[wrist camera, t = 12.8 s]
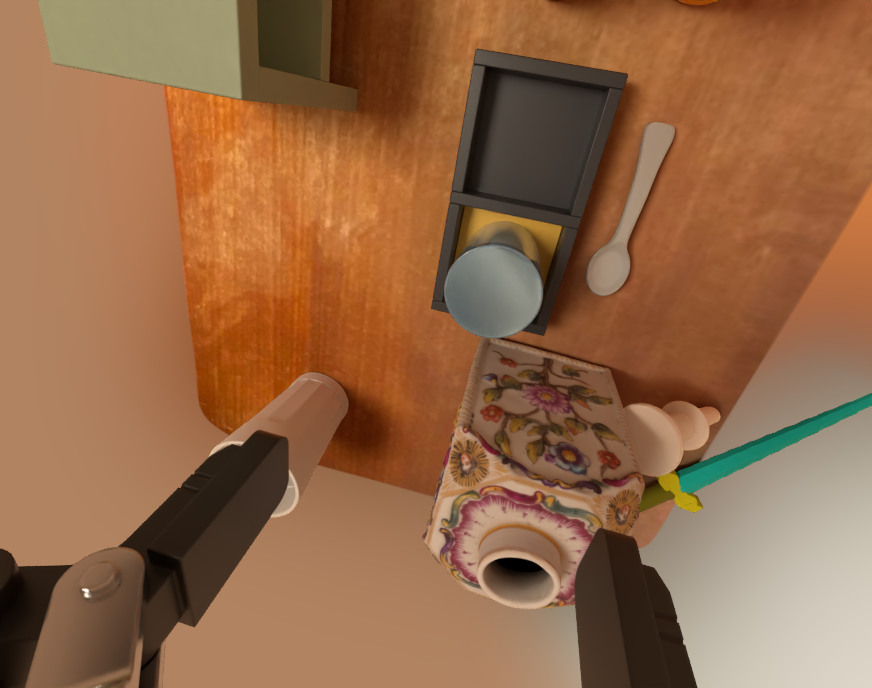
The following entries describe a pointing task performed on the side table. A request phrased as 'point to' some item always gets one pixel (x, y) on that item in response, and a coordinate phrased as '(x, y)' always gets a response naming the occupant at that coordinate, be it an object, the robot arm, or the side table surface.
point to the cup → (299, 428)
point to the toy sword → (739, 459)
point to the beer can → (698, 2)
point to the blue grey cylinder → (496, 281)
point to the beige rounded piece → (667, 433)
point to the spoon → (629, 213)
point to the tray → (528, 158)
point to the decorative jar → (532, 475)
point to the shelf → (204, 46)
